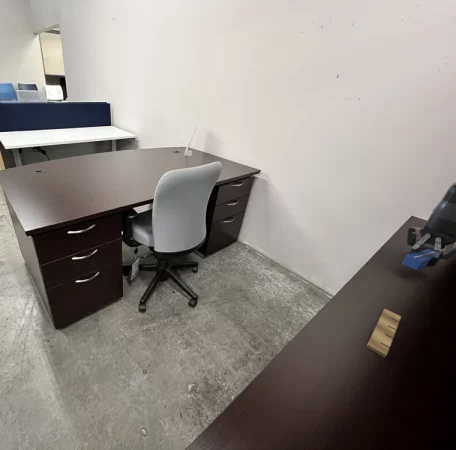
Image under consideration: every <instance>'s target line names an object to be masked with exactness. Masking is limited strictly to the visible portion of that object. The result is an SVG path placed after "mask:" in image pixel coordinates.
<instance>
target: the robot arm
mask: <svg viewBox="0 0 456 450" xmlns="http://www.w3.org/2000/svg"><path fill="white" fill-rule="evenodd" d="M418 234H420V237H422V238H421V239H420V238H419V239H420V240H419V239H418V240H419V241H417V235H418ZM406 244H407V245H408V246H410V247H411V250H410V252H409V253H408V254H411V253H415V252H419V251H420V250H421V249H420V248H421V247H422V246H424V245H425V244H431V245H432V246H434V247H435V248H434V251H435V252H434V257H432V258H431V260H430V261H429V263H428V264H427V266H428V267H427V268H432V267H433V268H434V267H436V266H437V265H438V264H439V263H440V261H441V260H444V261H447V260H450V259H451V260H452V259H453V258H454V257H456V181H454V182H452V183H451V184H450V185H449V187H448V188H447V190H446V192H445V193H444V195H443V197H441V199H440V201H439V202H438V203H437V204H436V206H435V207H434V208H433V210H432V212H431V214H430V215H429V218H428V219H427V220H426V222H425V223H424V226H422V227H416V226H412V227H409V228H408V229H407V240H406ZM450 245H453V246H452V250H451V251H449V252H448V253H446V254H445V251H446V250H447V246H450ZM440 259H441V260H440ZM438 262H439V263H438ZM437 263H438V264H437Z"/></svg>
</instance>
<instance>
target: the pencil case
mask: <svg viewBox="0 0 456 450" xmlns="http://www.w3.org/2000/svg"><path fill="white" fill-rule="evenodd" d="M434 252H435V251H432V250H430V249H426V250H422V251H419V252H415V253H411V254H409V253H408V254H406V255H405V257H404V258H403V260H402V262H401V264H402V265H404V266H406V267H407V268H408V267H409V268H411V269H413V270H415V271H418V270H423V269H425V268H429V267H428V266H427V264H428V263H429V261H430V260H431V258H432V257H434ZM441 260H442V259H440V261H441ZM440 261H439V262H438V263H437V265H438V264H439V263H440Z"/></svg>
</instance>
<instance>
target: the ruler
mask: <svg viewBox="0 0 456 450" xmlns="http://www.w3.org/2000/svg"><path fill="white" fill-rule="evenodd" d="M401 319H402V316H401V315H399V314H397V313H394V312H392V311H390V310H389V309H387V308H384V309H383V310H382V312H381V314H380V317H379V319H378V320H377V323H376V325H375V327H374V329H373V332H372V333H371V335H370V337H369V340H368V342H367V344H366V346H365V347H366V348H367V349H368V350H370V351H372V352H374V353H376V354H377V355H379V356H381V357H382V358H383V359H385V358H386V357H387V355H388V353H389V350H390V348H391V346H392V343H393V341H394V337H395V335H396V332H397V329H398V328H399V327H398V326H399V324H400V321H401Z"/></svg>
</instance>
